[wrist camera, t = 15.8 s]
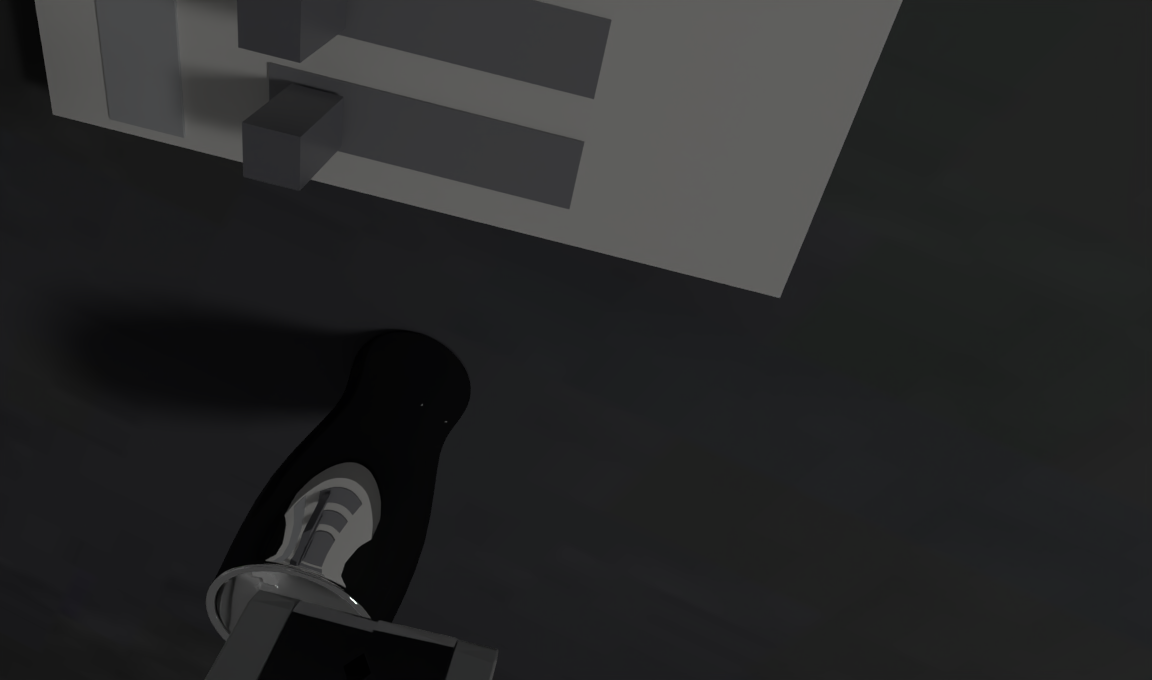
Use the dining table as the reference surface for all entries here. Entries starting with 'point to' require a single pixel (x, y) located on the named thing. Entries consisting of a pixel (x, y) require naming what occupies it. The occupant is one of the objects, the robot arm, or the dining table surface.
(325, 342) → the dining table surface
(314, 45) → the breaker handle
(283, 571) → the beer glass
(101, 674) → the dining table surface
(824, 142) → the breaker panel
